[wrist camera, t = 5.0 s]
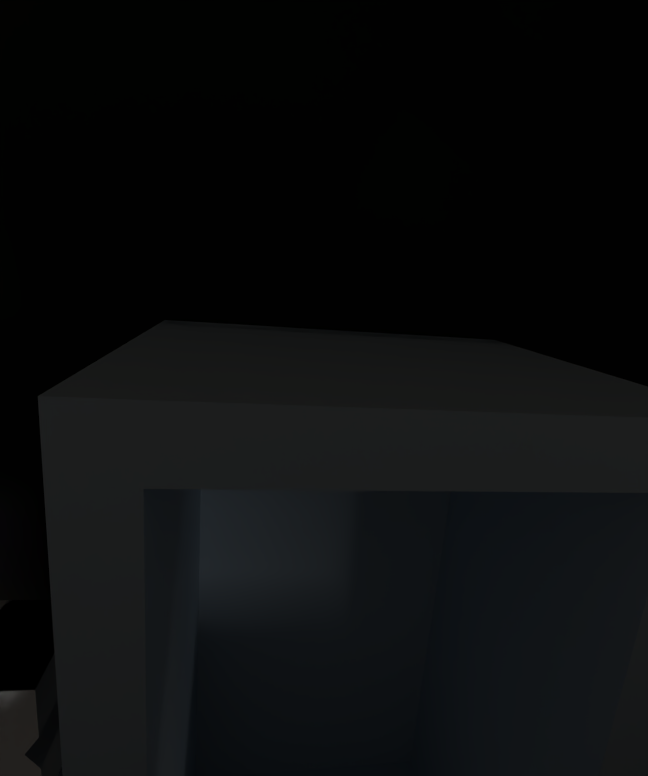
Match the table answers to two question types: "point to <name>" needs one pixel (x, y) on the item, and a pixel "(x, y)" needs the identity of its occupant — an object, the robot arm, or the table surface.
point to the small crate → (346, 557)
